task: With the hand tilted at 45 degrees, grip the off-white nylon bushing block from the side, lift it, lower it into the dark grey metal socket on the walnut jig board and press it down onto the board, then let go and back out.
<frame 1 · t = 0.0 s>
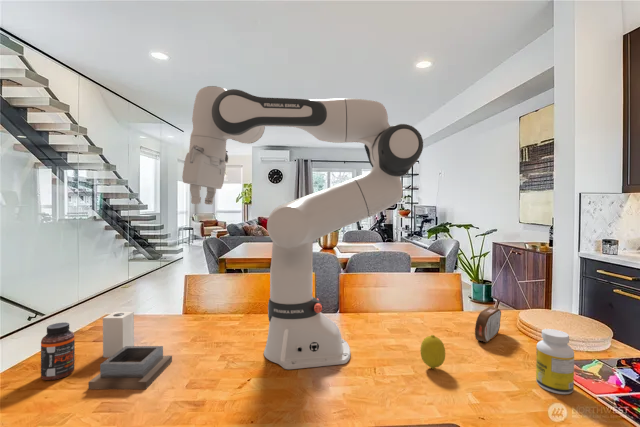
hand: (202, 204, 84), 39 cm above the counter, tool pointing down, fingers open, 8 cm apart
nylon bushing block: (119, 352, 84), on the counter
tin: (488, 338, 94), on the counter
walnut jig board: (133, 374, 73), on the counter
socket collar: (133, 361, 73), on the walnut jig board, point 3 cm above the counter
supplement bottle: (58, 375, 73), on the counter
lemon: (432, 369, 76), on the counter
pill bottle: (554, 388, 68), on the counter
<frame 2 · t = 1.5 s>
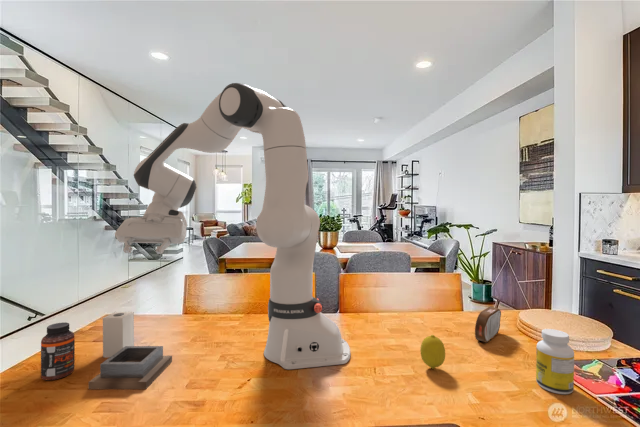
hand: (142, 252, 96), 25 cm above the counter, tool tilted 45°, fingers open, 8 cm apart
nothing on the counter moved.
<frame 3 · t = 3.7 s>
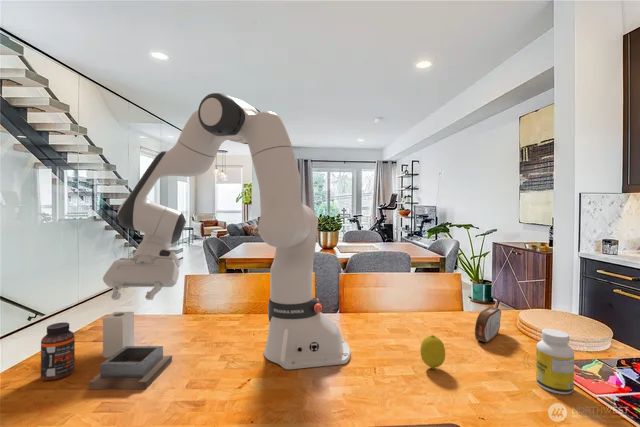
hand: (131, 298, 90), 12 cm above the counter, tool tilted 45°, fingers open, 8 cm apart
nothing on the counter moved.
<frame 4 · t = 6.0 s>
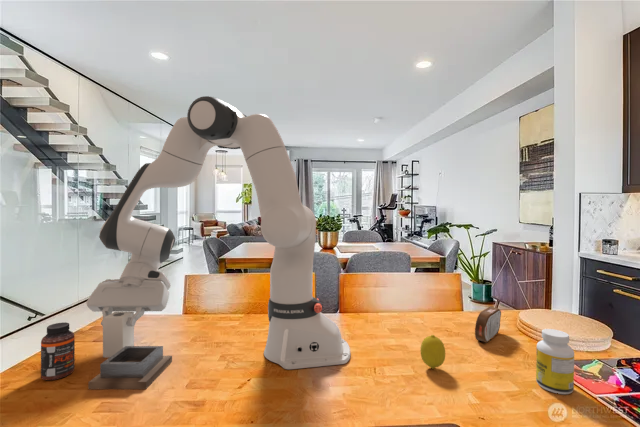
hand: (117, 325, 83), 7 cm above the counter, tool tilted 45°, fingers closed on nylon bushing block, 5 cm apart
nylon bushing block: (119, 352, 84), on the counter, touching gripper
everything else where it was.
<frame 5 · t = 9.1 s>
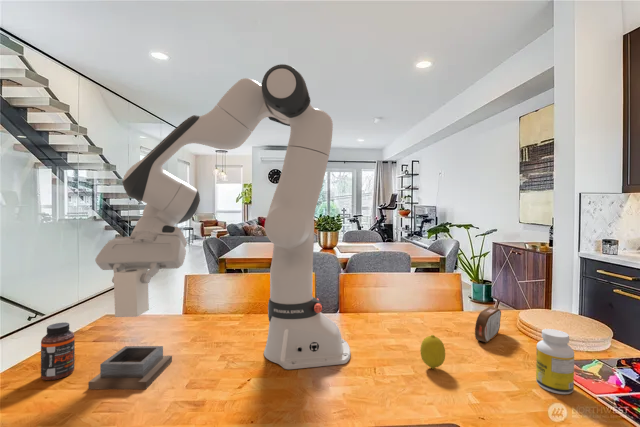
hand: (130, 282, 75), 21 cm above the counter, tool tilted 45°, fingers closed on nylon bushing block, 5 cm apart
nylon bushing block: (132, 313, 75), point 13 cm above the counter, touching gripper
everything else where it was.
when the fingers open (9 cm above the counter, at t = 12.5 s): nylon bushing block stays where it is, resting on walnut jig board.
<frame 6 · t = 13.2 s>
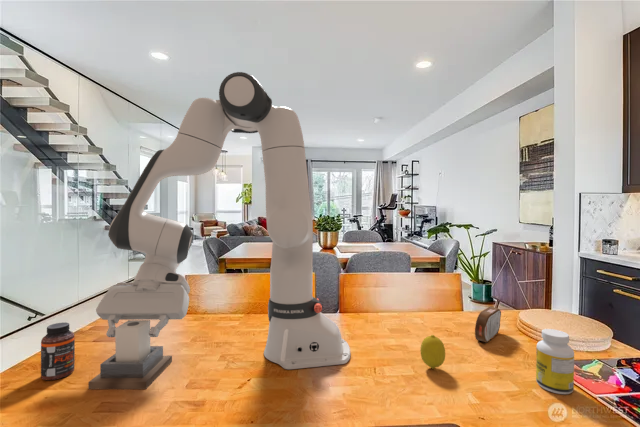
hand: (131, 336, 72), 9 cm above the counter, tool tilted 45°, fingers open, 8 cm apart
nylon bushing block: (133, 367, 73), point 1 cm above the counter, touching walnut jig board
everything else where it was.
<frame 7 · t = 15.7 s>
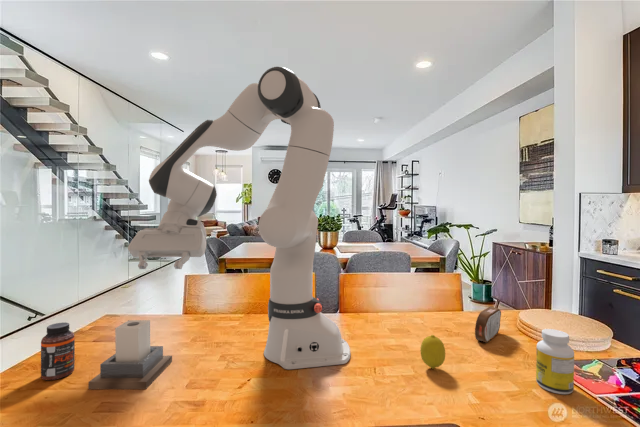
hand: (159, 268, 85), 22 cm above the counter, tool tilted 45°, fingers open, 8 cm apart
nothing on the counter moved.
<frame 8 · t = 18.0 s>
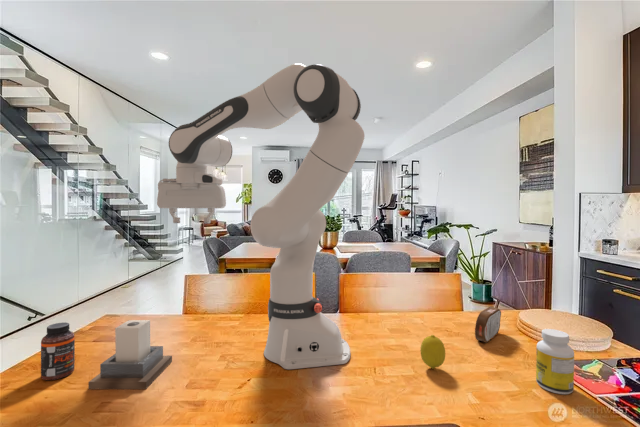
hand: (192, 223, 100), 33 cm above the counter, tool pointing down, fingers open, 8 cm apart
nothing on the counter moved.
at the end: nylon bushing block 0.1 cm off-centre on the socket collar, point 1.5 cm above the socket collar's base; nylon bushing block tilted 0°; the gripper is holding nothing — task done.
